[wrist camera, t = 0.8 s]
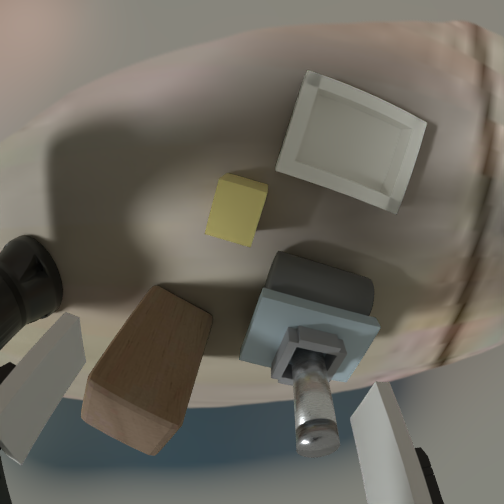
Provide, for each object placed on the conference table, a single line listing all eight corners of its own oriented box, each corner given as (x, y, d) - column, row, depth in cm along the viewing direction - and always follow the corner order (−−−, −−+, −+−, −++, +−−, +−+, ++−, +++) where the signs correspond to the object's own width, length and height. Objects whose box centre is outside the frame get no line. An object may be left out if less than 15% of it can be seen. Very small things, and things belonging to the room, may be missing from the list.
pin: (286, 360, 32) (290, 455, 20) (297, 336, 31) (307, 434, 19) (314, 366, 32) (327, 458, 20) (327, 343, 31) (347, 438, 19)
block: (216, 314, 41) (183, 428, 23) (189, 356, 45) (154, 460, 26) (154, 280, 40) (84, 377, 21) (134, 327, 43) (77, 420, 25)
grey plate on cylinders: (239, 333, 42) (230, 390, 31) (271, 240, 37) (271, 282, 26) (326, 354, 43) (338, 410, 32) (370, 271, 37) (401, 317, 27)
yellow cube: (214, 219, 36) (204, 233, 31) (227, 172, 34) (219, 178, 29) (253, 230, 37) (250, 247, 31) (267, 184, 34) (267, 192, 29)
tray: (275, 167, 33) (275, 170, 30) (303, 77, 29) (307, 69, 26) (384, 207, 34) (396, 214, 30) (412, 123, 30) (427, 122, 26)
